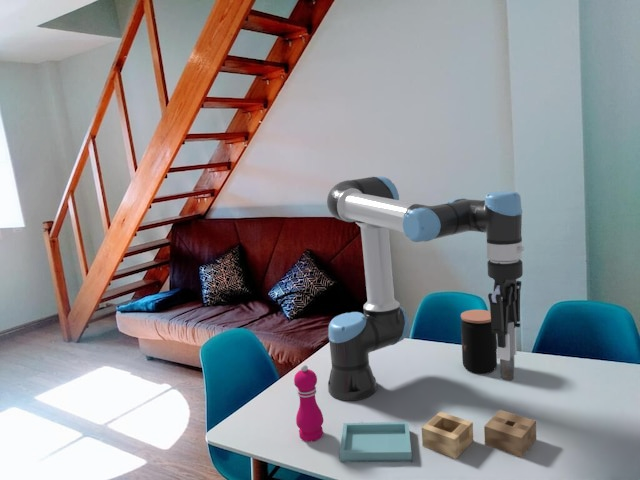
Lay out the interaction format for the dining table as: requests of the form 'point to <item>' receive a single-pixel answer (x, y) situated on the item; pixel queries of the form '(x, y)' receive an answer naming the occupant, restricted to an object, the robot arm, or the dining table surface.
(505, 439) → the walnut block narrow bore
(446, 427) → the oak block wide bore
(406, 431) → the teal tray
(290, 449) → the dining table surface
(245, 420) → the dining table surface
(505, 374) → the cylinder
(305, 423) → the pepper mill
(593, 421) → the dining table surface
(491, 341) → the coffee jar
